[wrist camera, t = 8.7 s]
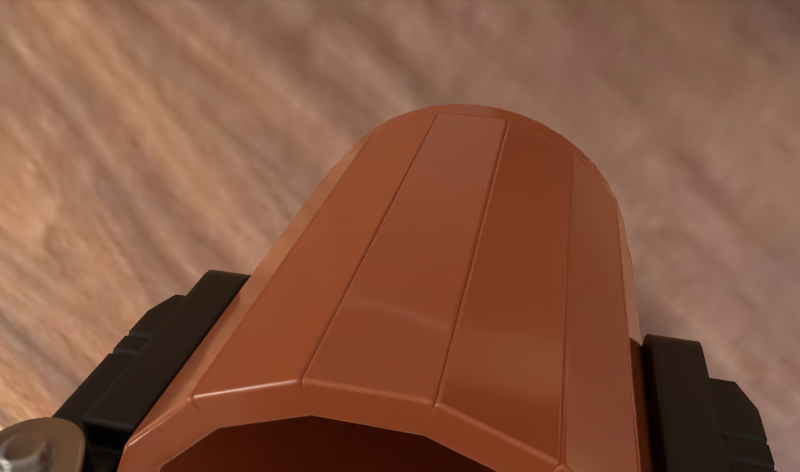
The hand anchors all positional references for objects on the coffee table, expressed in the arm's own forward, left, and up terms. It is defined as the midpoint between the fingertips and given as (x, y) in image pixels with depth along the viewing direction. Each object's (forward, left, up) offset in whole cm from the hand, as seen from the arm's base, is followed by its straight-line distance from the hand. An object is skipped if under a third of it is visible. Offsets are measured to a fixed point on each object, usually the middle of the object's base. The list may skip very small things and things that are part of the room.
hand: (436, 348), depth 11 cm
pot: (0, 0, -3) cm, 3 cm away
